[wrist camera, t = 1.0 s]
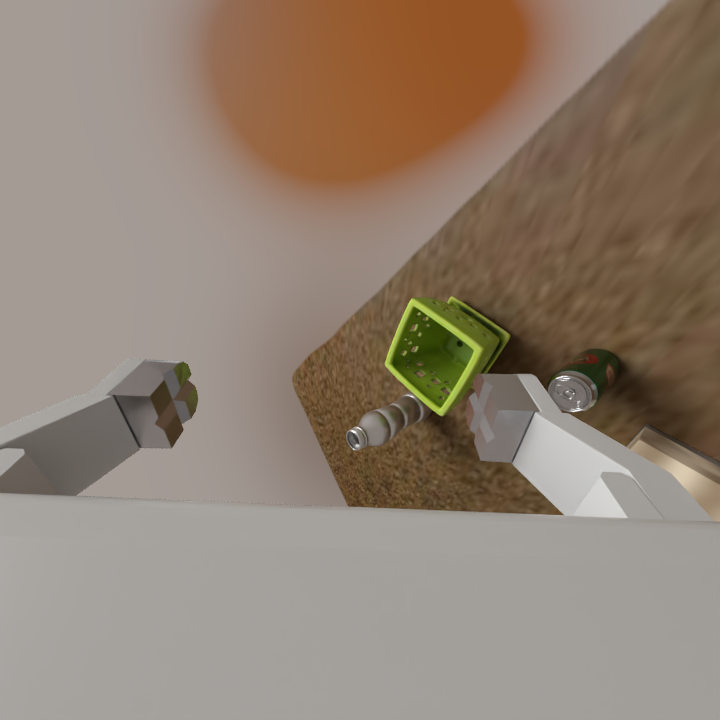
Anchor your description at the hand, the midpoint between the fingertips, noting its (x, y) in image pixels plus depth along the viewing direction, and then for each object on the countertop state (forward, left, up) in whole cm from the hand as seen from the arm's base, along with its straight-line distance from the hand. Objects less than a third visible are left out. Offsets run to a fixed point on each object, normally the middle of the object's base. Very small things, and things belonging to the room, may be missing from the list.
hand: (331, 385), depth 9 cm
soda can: (-2, +13, -46) cm, 48 cm away
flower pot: (+16, +19, -46) cm, 52 cm away
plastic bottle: (+20, +36, -46) cm, 62 cm away
